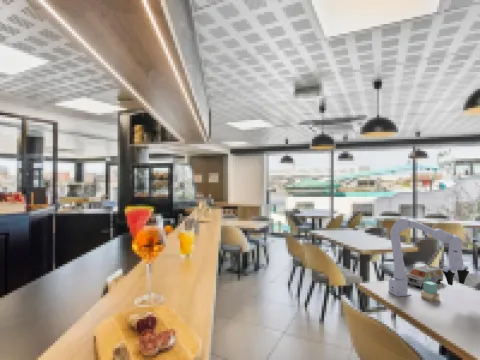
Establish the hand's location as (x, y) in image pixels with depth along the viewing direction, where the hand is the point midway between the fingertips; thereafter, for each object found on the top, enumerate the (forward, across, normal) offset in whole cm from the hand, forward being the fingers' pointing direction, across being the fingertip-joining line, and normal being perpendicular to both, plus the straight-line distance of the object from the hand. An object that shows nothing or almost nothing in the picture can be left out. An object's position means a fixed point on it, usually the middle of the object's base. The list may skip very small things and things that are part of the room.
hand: (455, 284), depth 151 cm
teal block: (+7, -7, +9) cm, 13 cm away
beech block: (+11, -7, +9) cm, 16 cm away
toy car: (+11, +10, +30) cm, 33 cm away
